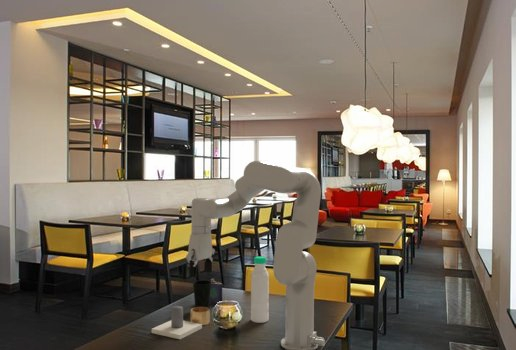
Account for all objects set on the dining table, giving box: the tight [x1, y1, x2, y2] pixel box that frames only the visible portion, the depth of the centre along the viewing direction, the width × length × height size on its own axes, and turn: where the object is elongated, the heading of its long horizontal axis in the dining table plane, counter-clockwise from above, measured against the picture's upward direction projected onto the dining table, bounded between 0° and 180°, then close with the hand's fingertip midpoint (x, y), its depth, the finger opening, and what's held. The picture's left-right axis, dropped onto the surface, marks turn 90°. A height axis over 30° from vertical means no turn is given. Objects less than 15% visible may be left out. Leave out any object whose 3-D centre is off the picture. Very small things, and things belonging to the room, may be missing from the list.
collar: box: [189, 306, 211, 326], centre depth 178 cm, size 7×7×5 cm
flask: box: [210, 278, 223, 305], centre depth 205 cm, size 9×3×11 cm, turn 76°
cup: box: [192, 279, 211, 309], centre depth 193 cm, size 8×8×12 cm
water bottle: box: [250, 256, 270, 324], centre depth 180 cm, size 7×7×25 cm
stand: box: [151, 305, 203, 340], centre depth 169 cm, size 13×13×8 cm
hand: (200, 274), depth 178 cm, fingers open, 9 cm apart
